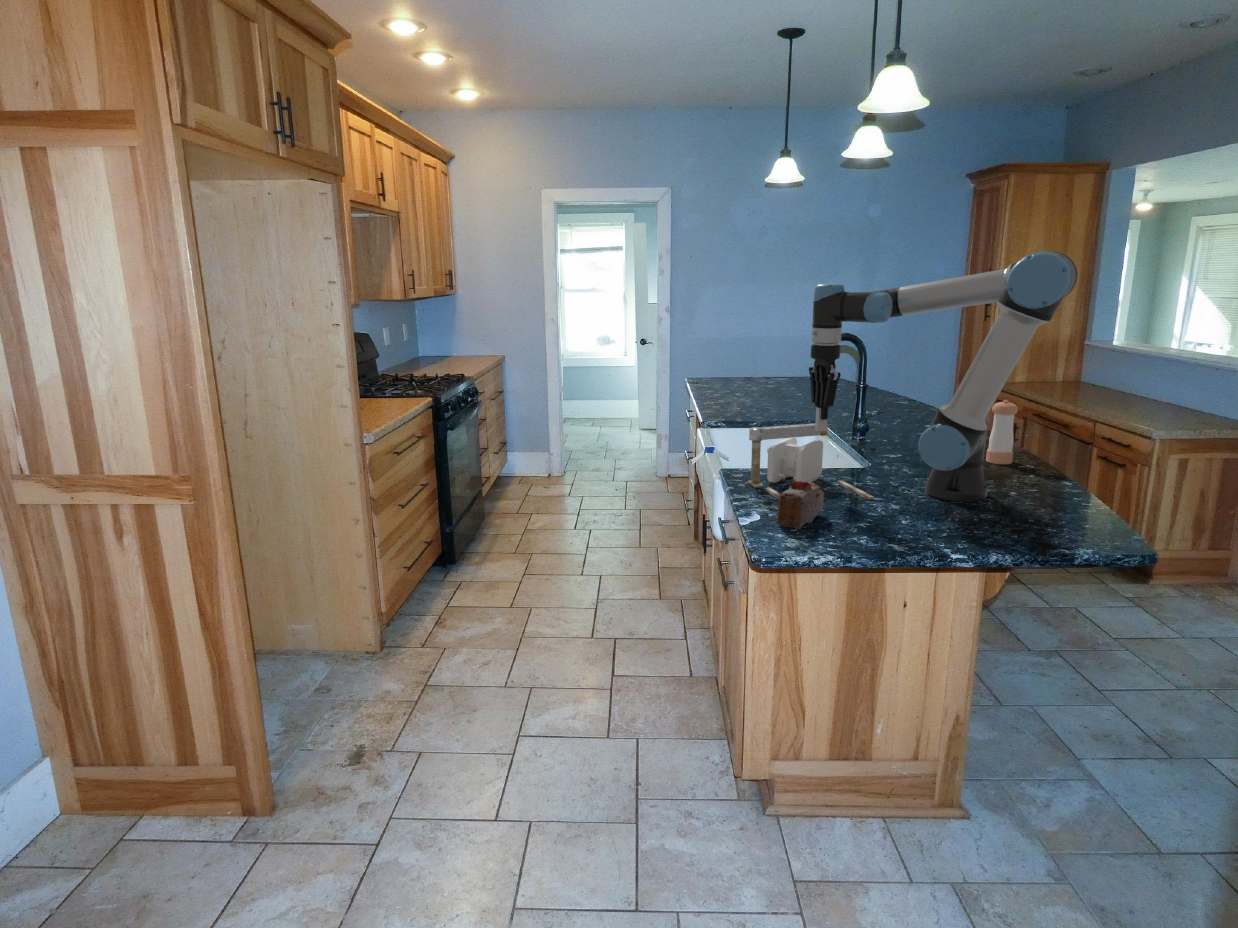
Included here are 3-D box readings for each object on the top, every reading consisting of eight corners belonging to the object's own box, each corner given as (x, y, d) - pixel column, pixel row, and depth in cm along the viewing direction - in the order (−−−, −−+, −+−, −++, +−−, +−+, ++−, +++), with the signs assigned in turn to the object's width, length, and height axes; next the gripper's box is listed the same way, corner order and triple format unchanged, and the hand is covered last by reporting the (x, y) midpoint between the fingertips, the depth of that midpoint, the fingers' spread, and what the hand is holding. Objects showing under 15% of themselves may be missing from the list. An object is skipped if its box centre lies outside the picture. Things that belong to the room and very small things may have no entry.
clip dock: (873, 499, 193) (876, 452, 189) (786, 508, 187) (788, 460, 184) (826, 475, 216) (828, 432, 212) (747, 482, 210) (748, 439, 207)
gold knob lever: (830, 435, 208) (830, 424, 207) (752, 441, 202) (753, 430, 201) (823, 432, 211) (823, 421, 210) (746, 438, 206) (747, 427, 205)
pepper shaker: (1016, 464, 223) (1024, 402, 218) (992, 464, 223) (999, 402, 218) (1005, 458, 230) (1012, 397, 225) (981, 458, 230) (988, 398, 225)
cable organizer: (799, 490, 202) (801, 449, 199) (764, 484, 208) (766, 444, 205) (822, 478, 213) (824, 439, 210) (788, 472, 219) (790, 434, 216)
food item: (794, 509, 186) (795, 472, 184) (825, 514, 182) (827, 476, 180) (774, 525, 175) (775, 486, 173) (806, 531, 171) (808, 491, 169)
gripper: (801, 342, 200) (797, 426, 206) (825, 346, 188) (820, 436, 194) (826, 340, 202) (821, 424, 208) (851, 345, 189) (845, 434, 196)
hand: (820, 430), depth 201 cm, fingers closed
